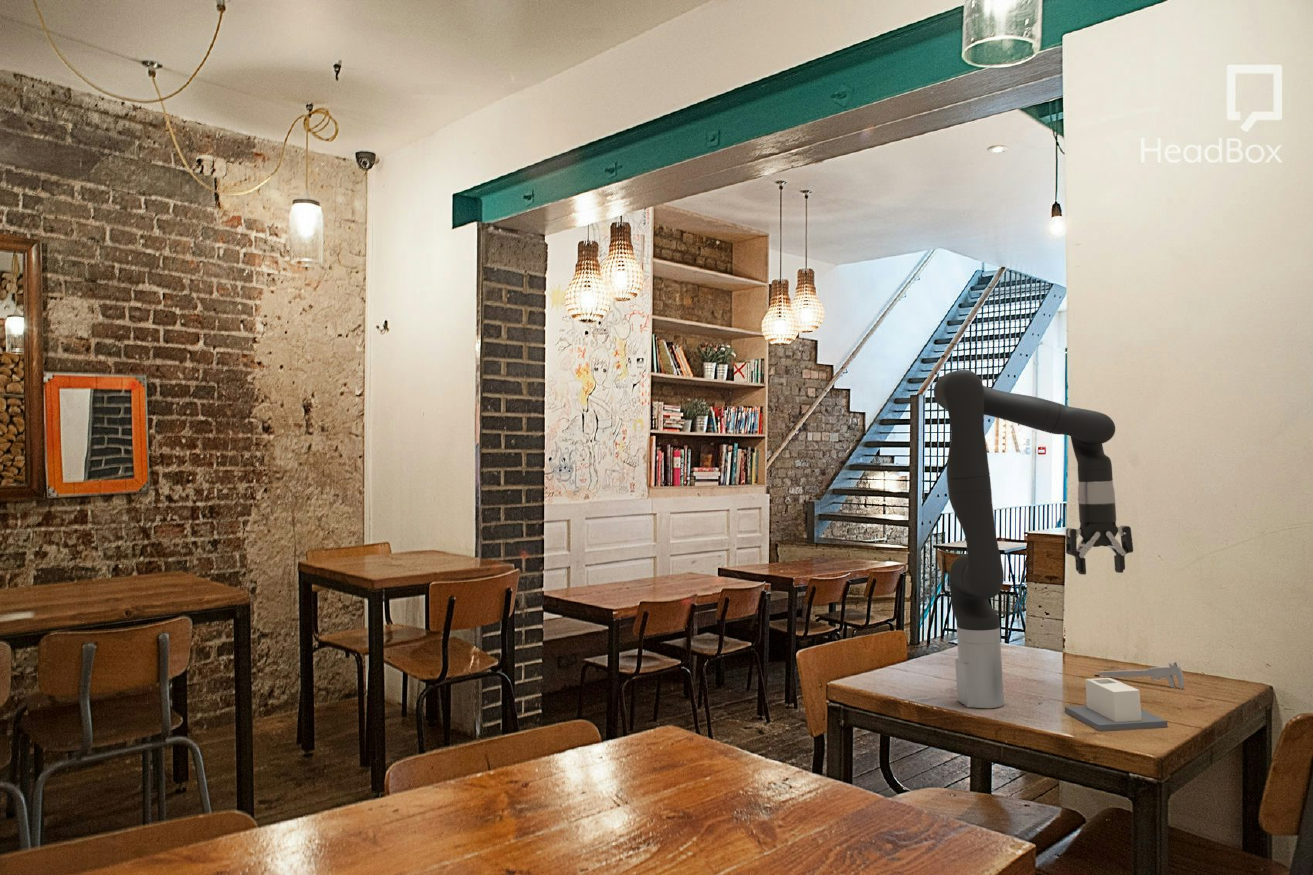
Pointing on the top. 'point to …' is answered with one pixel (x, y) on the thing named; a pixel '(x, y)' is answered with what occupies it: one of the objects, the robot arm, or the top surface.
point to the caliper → (1151, 674)
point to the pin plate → (1107, 724)
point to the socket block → (1113, 699)
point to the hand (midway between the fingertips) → (1100, 573)
